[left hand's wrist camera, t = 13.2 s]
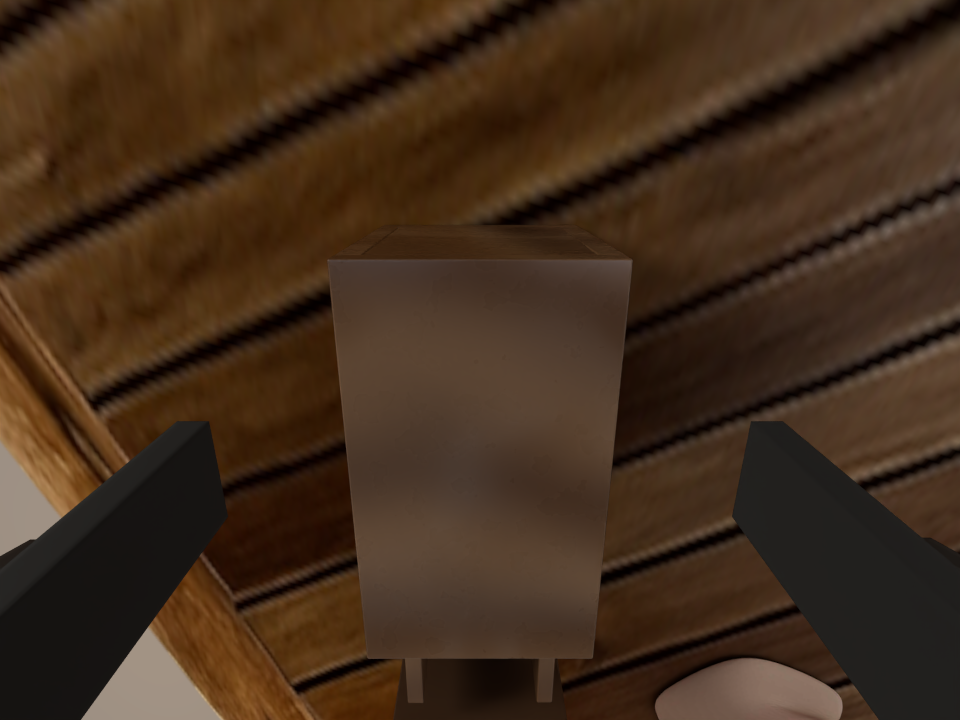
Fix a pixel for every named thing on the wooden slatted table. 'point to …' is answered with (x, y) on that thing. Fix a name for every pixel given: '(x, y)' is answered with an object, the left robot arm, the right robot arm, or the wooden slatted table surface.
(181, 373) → the wooden slatted table surface
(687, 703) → the anatomical model
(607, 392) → the brown box
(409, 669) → the drawer
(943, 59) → the wooden slatted table surface
